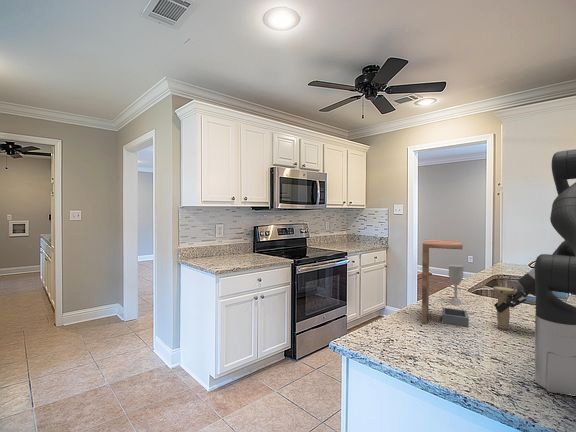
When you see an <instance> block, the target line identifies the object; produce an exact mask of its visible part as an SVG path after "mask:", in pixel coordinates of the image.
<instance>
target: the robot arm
mask: <svg viewBox="0 0 576 432" xmlns="http://www.w3.org/2000/svg"><path fill="white" fill-rule="evenodd" d="M551 172H552V177H553V182H554V185H555V188H556V193H557V196H556V197H555V199H554V200H553V202H552V205H551V213H550V216H549V218H550V220H549V221H550V223H551V226H552V227H553V229H554V230H555V232H557V234H558V235H559V236H561V238H562V239H563V241H562V242H561V243H560V244H559V246H558V247H557V248H556V249H555V250H554V251H553V252H552V253H549V254H548V253H547V254H546V253H542V254H539V255H538V256H537V257H536V259H535V262H534V267H533V268H532V269H531V270H529V271H528V272H525V274H523V275H522V276H521V277H520V278H518V279H517V282H518V283H519V284H520V285H518V286H512V287H510V289H514V292H513V294H511V295H509V296H508V299H507V300H505V301H504V302H503V303H501V304H500V305H498V301H497V302H496V303H494V305H493V306H494V307H495V310H496V312H497V311H498V312H500V313H501V312H503V311H504V310H506V309H507V308H508V307H509V308H512V309H514V308H516V307H517V306H518V305H521V304H522V303H525V302H526V301H527V300H528V299H527V297H528V296H529V295H530V294H531V295H532V296H533V297H535V316H534V317H535V318H534V319H535V323H534V381H535V383H536V384H538V385H539V386H540V387H541V388H544V389H545V390H546V391H547V392H548V393H554V394H557V393H560V394H559V395H562V394H571V395H575V396H576V306H574V305H572V304H570V303H567V302H565V301H564V300H562V299H560V298H558V297H557V296H556V295H555V294H554V293H553V292H557V293H563V294H571V295H576V181H575V182H574V183H573V184H571V185H569V182H568V180H576V149H568V150H567V149H566V150H561V151H557V152H555V153H554V154H553V155H552V158H551ZM497 305H498V306H497Z"/></svg>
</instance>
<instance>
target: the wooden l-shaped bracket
mask: <svg viewBox="0 0 576 432" xmlns="http://www.w3.org/2000/svg"><path fill="white" fill-rule="evenodd" d="M430 249H442V250H443V249H445V250H446V249H448V250H460V251H461V250H463V243H462V241H461V240H452V239H451V240H450V239H449V240H446V239H424V241H422V253H421V254H422V255H421V256H422V260H421V261H422V262H421V264H422V265H421V267H422V268H421V269H422V271H421V273H422V275H421V277H422V282H421V288H422V289H421V292H422V293H421V324H422V325H427V324H428V323H427V322H428V317H429V316H428V315H429V309H430V307H429V302H430V301H429V299H430V298H429V297H430V295H429V294H430V293H429V289H430V288H429V287H430Z"/></svg>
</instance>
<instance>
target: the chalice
mask: <svg viewBox="0 0 576 432" xmlns="http://www.w3.org/2000/svg"><path fill="white" fill-rule="evenodd" d="M447 267H448V277H449V279H450V282H451V284H452V285H453V286H454V288H453V291H454V292H453V294H454V297H451V299H450V302H449V304H450V305H454V306H461V305H462V303H461V300H460V298H458V296H457V295H458V294H459V293H458V286H460V284H461V282H462V281H463V278H464V269H465V265H462V264H447Z"/></svg>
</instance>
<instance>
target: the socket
mask: <svg viewBox="0 0 576 432" xmlns="http://www.w3.org/2000/svg"><path fill="white" fill-rule="evenodd" d="M441 309H442V312H441V314H442V315H441V324H442V325H443V324H444V325H450V326H457V327H465V328H469V320H470V319H469V318H470V317H469V313H468V309H467V310H465V309H456V308H450V307H441Z"/></svg>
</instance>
